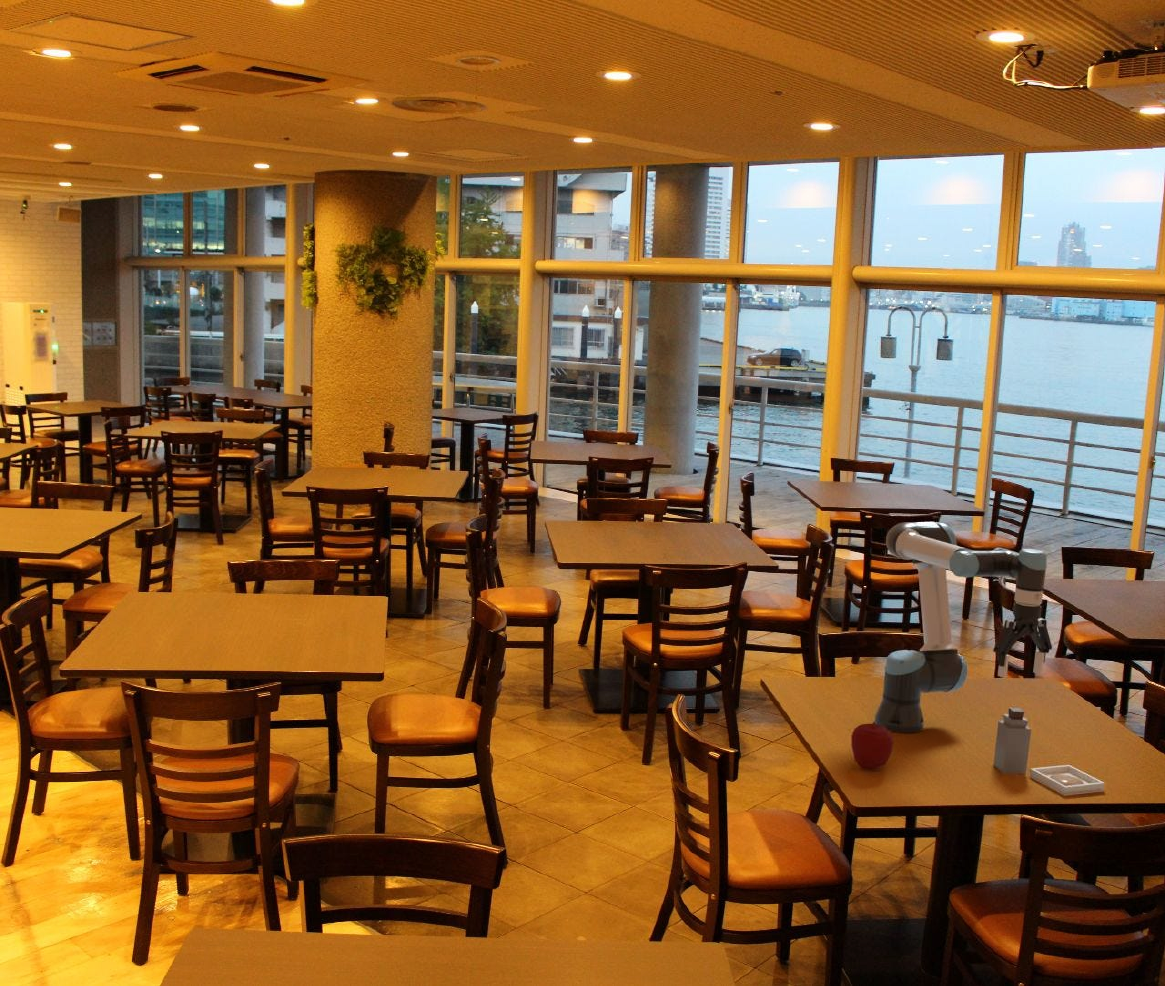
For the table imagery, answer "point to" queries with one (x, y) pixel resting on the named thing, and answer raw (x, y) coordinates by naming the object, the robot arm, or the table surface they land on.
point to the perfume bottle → (1012, 743)
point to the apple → (871, 745)
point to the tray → (1067, 780)
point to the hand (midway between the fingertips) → (1019, 675)
